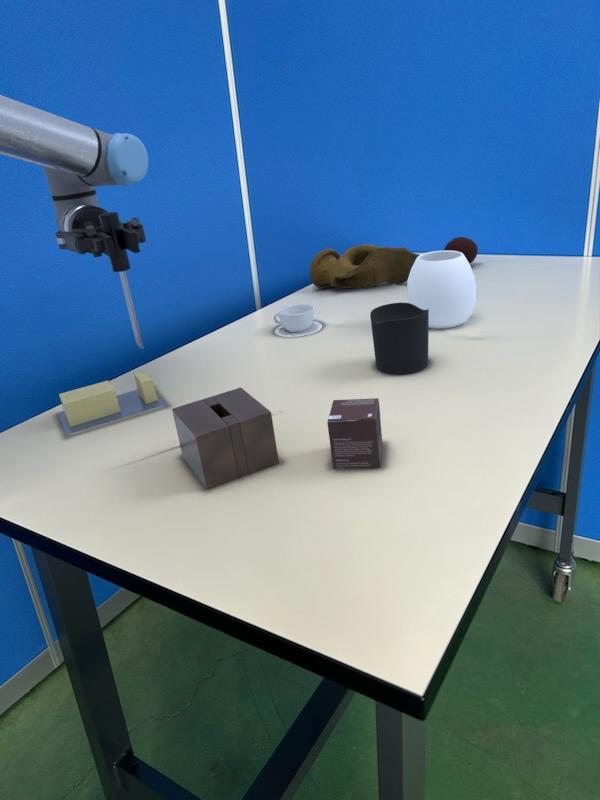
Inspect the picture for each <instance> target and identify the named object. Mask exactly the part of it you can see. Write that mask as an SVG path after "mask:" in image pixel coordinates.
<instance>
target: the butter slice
mask: <svg viewBox="0 0 600 800" xmlns="http://www.w3.org/2000/svg"><path fill="white" fill-rule="evenodd" d="M133 377H134V380H135V385H136V390H138V393H139V395H140V396H141V398H142V399H143V400H144V402H145V403H146V404H148V403H152V402H155V401H158V399H157V395H156V393H157V392H156V386H155V383H154V379H153V378H152V376H151V375H150V374H149V373H148V371H146V370H145V369H144V370H140V371H137V372H134V373H133Z"/></svg>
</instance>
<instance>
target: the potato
mask: <svg viewBox="0 0 600 800" xmlns="http://www.w3.org/2000/svg"><path fill="white" fill-rule="evenodd" d="M449 250H450V251H458V252H461V253H463V254H464V256H465V257H466V259H467V261H468V262H469V264H470V265H471V264H472V263H473V262H474V261H475V260H476V258H477V255H478V251H479V249H478V245H477V244H476V242H475V241H474V240H473V239H471V238H469V237H465V236H458V237H457V236H456V237H453V238H452V239H451V240H449V241H448V242H447V243H446V245H445V247H444V248H443V251H449Z"/></svg>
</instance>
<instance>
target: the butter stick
mask: <svg viewBox="0 0 600 800" xmlns="http://www.w3.org/2000/svg"><path fill="white" fill-rule="evenodd" d="M58 395H59V396H58V397H59V399H60V403H61V405H62V409H63V411H64V412H65V415H66V418H67V420H68V423H69V425H70V427H72V426H75V425H79V424H82V423H85V422H89V421H92V420H95V419H98V418H102V417H105V416H108V415H112V414H115V413H118V412H121V411H120V408H119V404H118V400H117V397H116V396H117V393H116V390H115V388H114V386H113V385H112V383H111V382H110V381H109V380H104V381H101V382H97V383H94V384H91V385H87V386H83V387H80V388H76V389H72V390H67V391H66V392H62V393H58Z"/></svg>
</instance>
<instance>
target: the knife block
mask: <svg viewBox="0 0 600 800" xmlns="http://www.w3.org/2000/svg"><path fill="white" fill-rule="evenodd" d="M171 411H172V416H173V420H174V425H175V429H176V434H177V437H178V442H179V446H180V451H181V455H182V458H183V460H184V461H185V463H186V464H187V465H188V466H189V468H190V469H191V471H192V472H193V473H194V475H195V476H196V477H197V478H198V480H199V481H200V483H201V484H202V485H203V487H204V488H205V489H206V490H211V489H213V488H216V487H219V486H222V485H224V484H227V483H229V482H232V481H236V480H238V479H241V478H244V477H247V476H248V475H252V474H254V473H258V472H260V471H263V470H265V469H268V468H271V467H274V466H277V465H279V464H280V460H279V453H278V447H277V441H276V435H275V428H274V422H273V416H272V412H271V410H270V409H268V408H267V407H266V406H265V405H263V404H262V403H261V402H259V401H258V400H257V399H256V398H254V397H253V396H252V395H251V394H250V393H249V392H247V391H246V390H245V389H244V388H243V387H238V388H235V389H230V390H228V391H224V392H221V393H219V394H215V395H212V396H208V397H205V398H202V399H199V400H196V401H192V402H190V403H189V402H188V403H186V404H183V405H180V406H176V407H172V408H171Z"/></svg>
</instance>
